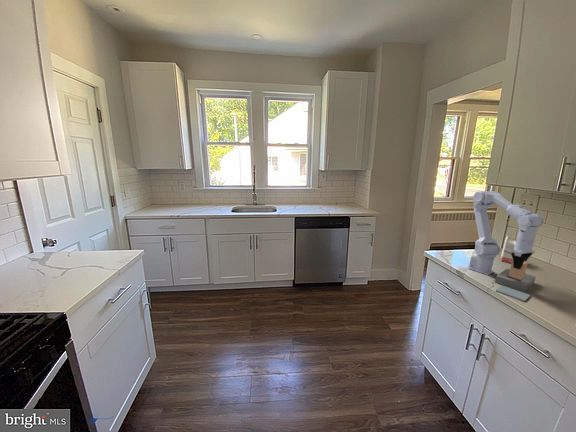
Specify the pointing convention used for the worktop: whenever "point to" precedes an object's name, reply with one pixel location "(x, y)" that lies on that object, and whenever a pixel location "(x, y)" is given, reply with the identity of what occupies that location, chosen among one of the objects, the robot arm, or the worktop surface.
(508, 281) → the plate
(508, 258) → the ink cartridge box
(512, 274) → the plug
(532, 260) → the worktop surface
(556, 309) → the worktop surface
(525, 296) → the mat
